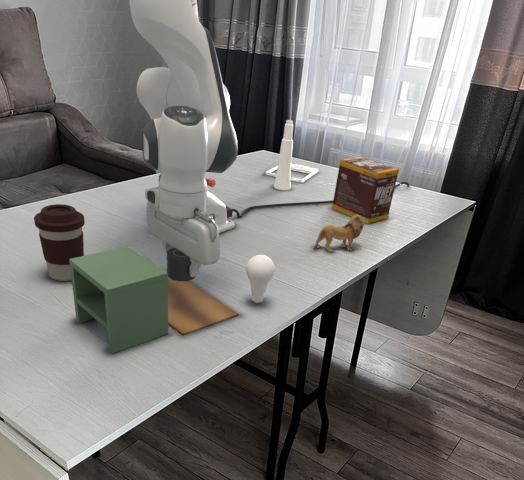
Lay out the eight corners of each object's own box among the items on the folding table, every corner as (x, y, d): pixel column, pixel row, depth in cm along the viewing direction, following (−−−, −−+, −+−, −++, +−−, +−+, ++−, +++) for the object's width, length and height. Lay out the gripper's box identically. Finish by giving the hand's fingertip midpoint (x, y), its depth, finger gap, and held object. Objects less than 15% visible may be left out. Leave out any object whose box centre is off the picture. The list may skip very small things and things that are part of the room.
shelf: (130, 303, 113) (127, 245, 105) (168, 333, 104) (167, 273, 97) (76, 320, 105) (69, 259, 98) (112, 353, 97) (107, 289, 90)
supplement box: (368, 224, 165) (378, 172, 157) (331, 208, 174) (339, 159, 166) (388, 218, 171) (400, 168, 163) (352, 203, 180) (361, 155, 172)
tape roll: (185, 266, 114) (185, 244, 111) (202, 277, 110) (203, 255, 108) (161, 272, 110) (161, 250, 108) (177, 284, 107) (178, 261, 104)
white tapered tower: (274, 184, 191) (281, 117, 178) (291, 186, 190) (299, 120, 178) (272, 189, 186) (279, 121, 173) (289, 191, 185) (298, 123, 173)
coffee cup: (64, 289, 115) (55, 221, 107) (32, 275, 119) (22, 209, 111) (99, 274, 122) (93, 209, 114) (68, 261, 126) (60, 198, 118)
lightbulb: (242, 295, 120) (246, 249, 114) (269, 296, 121) (274, 250, 115) (244, 308, 115) (248, 261, 109) (272, 310, 116) (277, 263, 110)
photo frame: (318, 168, 208) (302, 179, 194) (318, 171, 209) (302, 182, 195) (283, 161, 212) (265, 171, 198) (283, 164, 213) (265, 174, 199)
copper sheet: (182, 278, 124) (182, 276, 124) (238, 315, 113) (238, 313, 112) (129, 293, 116) (129, 292, 116) (182, 335, 104) (182, 333, 104)
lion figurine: (353, 242, 152) (359, 211, 147) (363, 250, 148) (370, 218, 143) (308, 247, 146) (312, 215, 141) (318, 255, 142) (323, 222, 137)
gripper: (230, 216, 98) (225, 284, 105) (167, 184, 110) (167, 247, 117) (202, 222, 94) (199, 292, 102) (140, 188, 106) (142, 253, 114)
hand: (181, 268), depth 110 cm, fingers closed on tape roll, 6 cm apart
